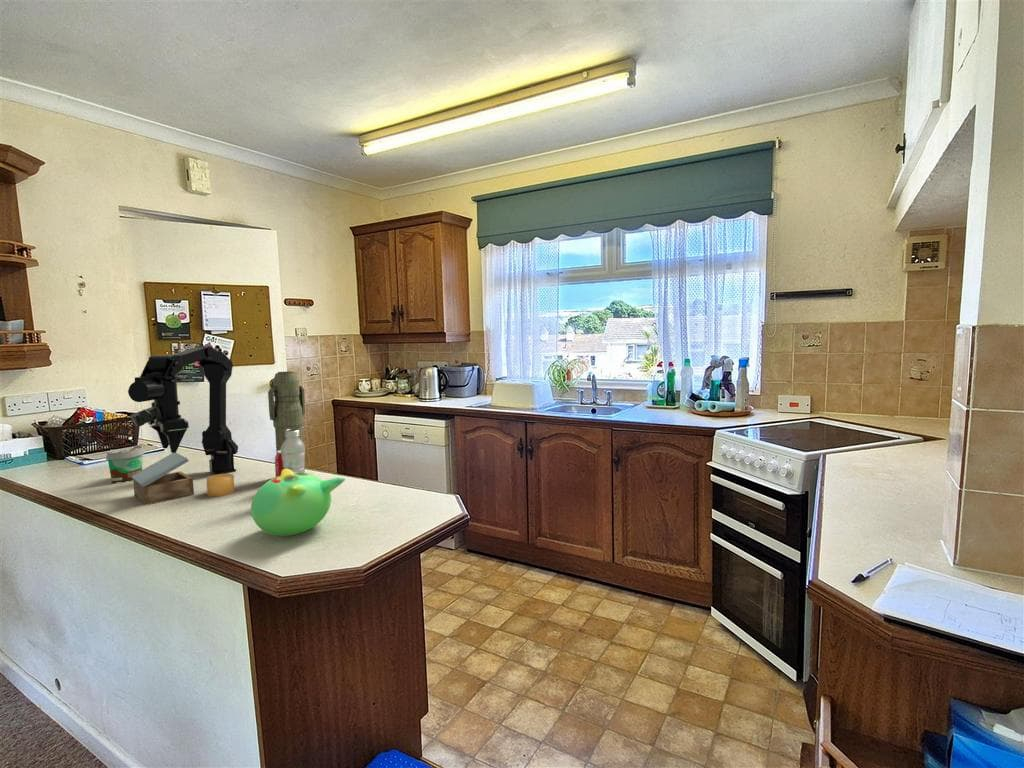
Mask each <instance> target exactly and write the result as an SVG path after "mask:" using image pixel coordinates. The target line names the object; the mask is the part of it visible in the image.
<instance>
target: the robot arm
mask: <svg viewBox="0 0 1024 768" xmlns="http://www.w3.org/2000/svg"><path fill="white" fill-rule="evenodd" d="M194 363H197V365H198V366H200V367H201V368H202V370H203V376H204V377H205V379H206V380H207V382H208V383H209V391H208V392H209V395H208V396H209V401H208V403H209V406H208V411H209V412H208V414H209V415H208V417H209V418H208V419H209V420H208V424H209V425H208V426H207V428H206V430H203V431H202V432H201V435H202V436H201V437H202V439H201V444H202V447H203V451H204V454H205V456H210V458H209V460H208V462H209V463H208V464H209V472H210V473H211V474H213V475H217V474H228V473H231V472H232V471H233V472H236V471H237V469H236V468H235V461H234V455H236V454H237V453H238V451H239V445H238V444H237V443H236V442H235V441H234V440H233V438H232V437H233V436H232V431H231V429H230V428H229V427H228V426H227V383H228V381H229V380H230V378H231V376H232V372H233V368H234V365H233V362H232V360H231V359H230V358H229V357H228V356H227V355H226V354H225V353H222V352H220V351H218V350H216V349H215V348H214V347H213V346H210V345H197V346H193V347H192V348H189V349H186V350H182V351H179V352H175V353H173V354H155V355H151V356H149V357H148V360H147V361H146V364H145V365H144V367H143V370H142V372H141V374H140V376H138V377H137V376H136V377H134V382H132V383H131V384H130V385H129V387H128V390H127V393H128V396H129V398H130V399H131V400H132V402H133V401H134V402H137V403H141V402H148V401H149V402H150V401H152V402H151V404H150V405H151V407H148V408H145V409H142V410H140V411H137V412H135V413H132V414H130V415H129V417H130V419H131V420H132V422H133V424H134V425H135V426H136V427H138V428H139V427H142V426H144V425H146V424H148V425H149V428H151V429H153V430H154V431H156V432H157V433H156V434H157V435H158V437H159V441H160V443H161V446H162V448H163V449H168V448H169V449H170V453H171V454H172V453H177V452H178V449H179V446H180V444H181V443H182V441H183V438H184V436H185V434H186V432H187V431H188V429H189V428H190V427H189V421H188V420H187V419H185V418H183V417H182V415H181V414H179V406H180V405H181V402H180V400H178V399H179V395H178V385H177V384H178V382H181V381H182V378H181V377H179V376H178V375H177V374H178V373H180V372H182V371H183V369H184V367H186V366H189V365H192V364H194ZM233 472H232V473H233Z"/></svg>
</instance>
